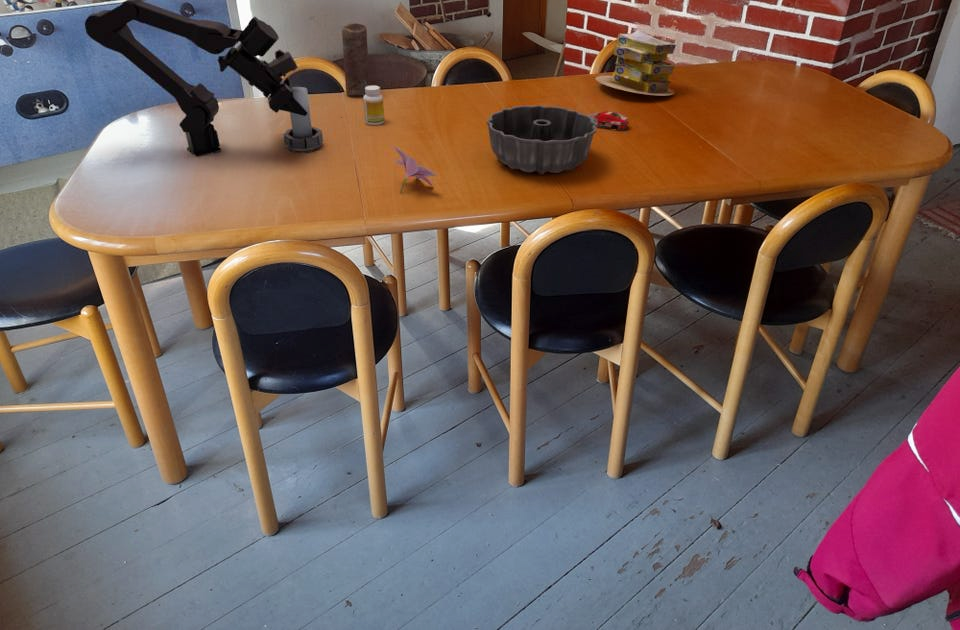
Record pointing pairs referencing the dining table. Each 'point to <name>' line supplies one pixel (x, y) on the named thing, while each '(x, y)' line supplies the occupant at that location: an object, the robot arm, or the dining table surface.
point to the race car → (609, 120)
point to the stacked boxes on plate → (641, 65)
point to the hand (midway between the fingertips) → (305, 111)
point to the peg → (300, 122)
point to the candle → (355, 59)
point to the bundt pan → (540, 137)
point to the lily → (413, 168)
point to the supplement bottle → (373, 106)
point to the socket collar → (303, 141)
